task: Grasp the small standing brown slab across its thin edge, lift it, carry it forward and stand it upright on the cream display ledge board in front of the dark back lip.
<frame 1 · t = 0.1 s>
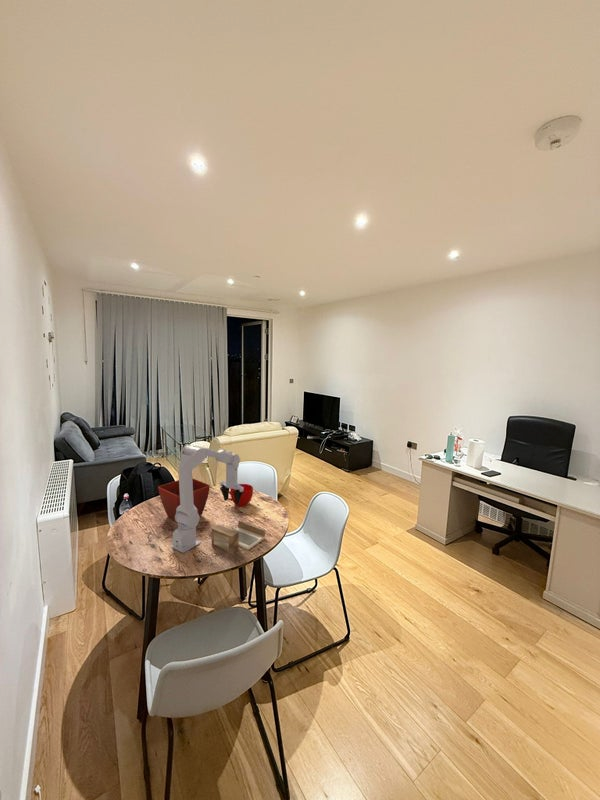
hand: (231, 501, 166), 10 cm above the table, fingers open, 7 cm apart
display ledge: (243, 538, 150), on the table
plant pot: (184, 516, 170), on the table
brown slab: (224, 547, 143), on the table
ceramic cup: (238, 505, 186), on the table
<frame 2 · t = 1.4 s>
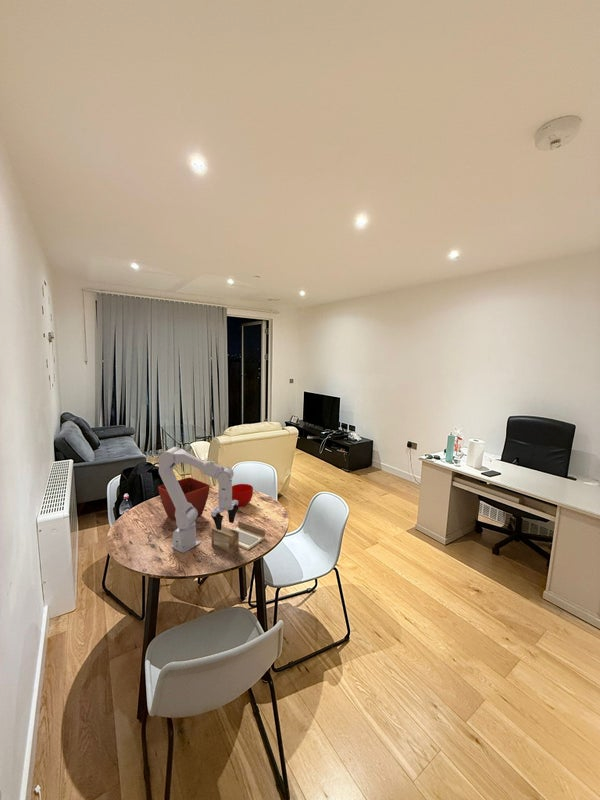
hand: (225, 525, 142), 10 cm above the table, fingers open, 7 cm apart
nothing on the table moved.
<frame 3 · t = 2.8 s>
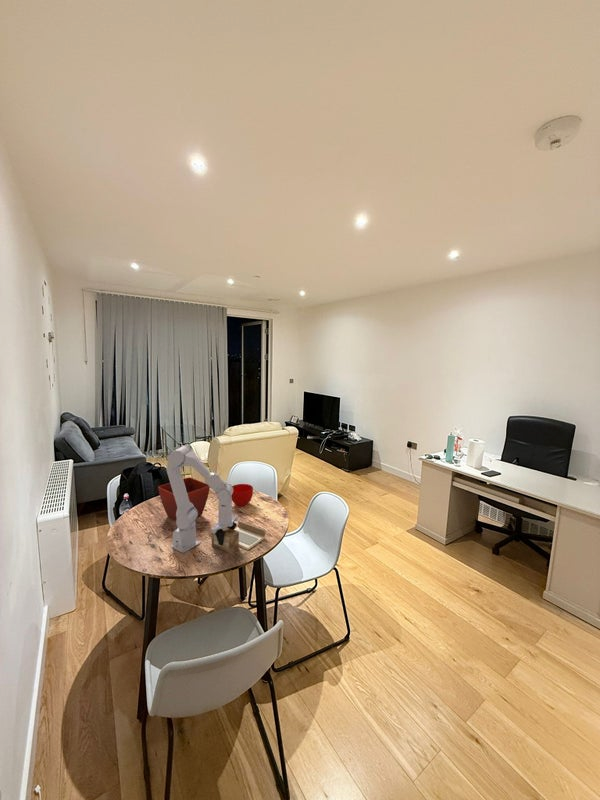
hand: (224, 541, 142), 2 cm above the table, fingers closed on brown slab, 5 cm apart
brown slab: (225, 547, 143), on the table, touching gripper
everything else where it was.
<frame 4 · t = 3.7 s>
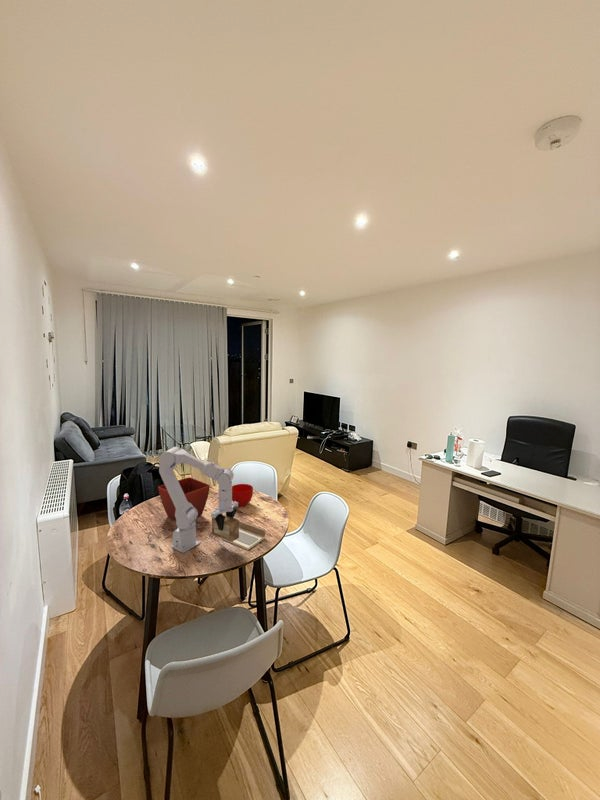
hand: (224, 527, 142), 9 cm above the table, fingers closed on brown slab, 5 cm apart
brown slab: (225, 535, 142), point 5 cm above the table, touching gripper
everything else where it was.
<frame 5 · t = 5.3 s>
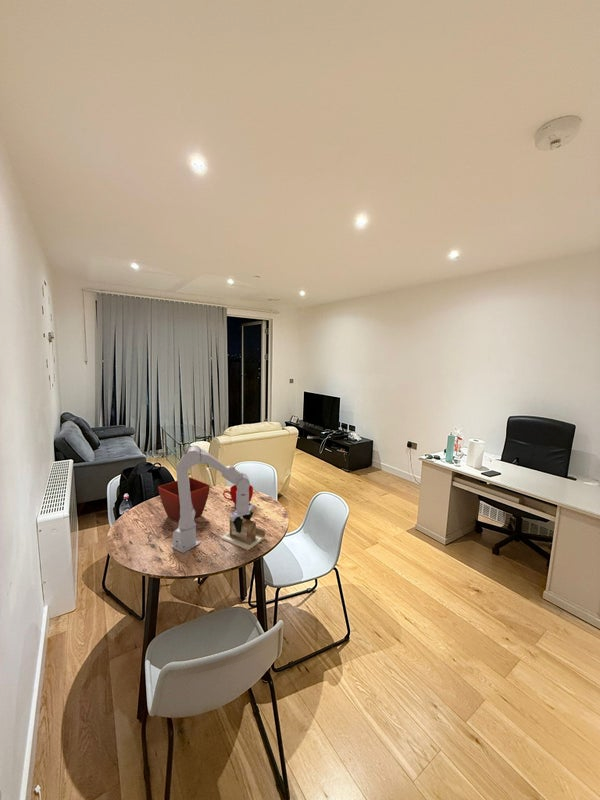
hand: (242, 529, 149), 5 cm above the table, fingers closed on brown slab, 5 cm apart
brown slab: (242, 537, 149), point 1 cm above the table, touching display ledge, gripper
everything else where it was.
when the fingers open (5 cm above the table, at t = 5.7 s): brown slab stays where it is, resting on display ledge.
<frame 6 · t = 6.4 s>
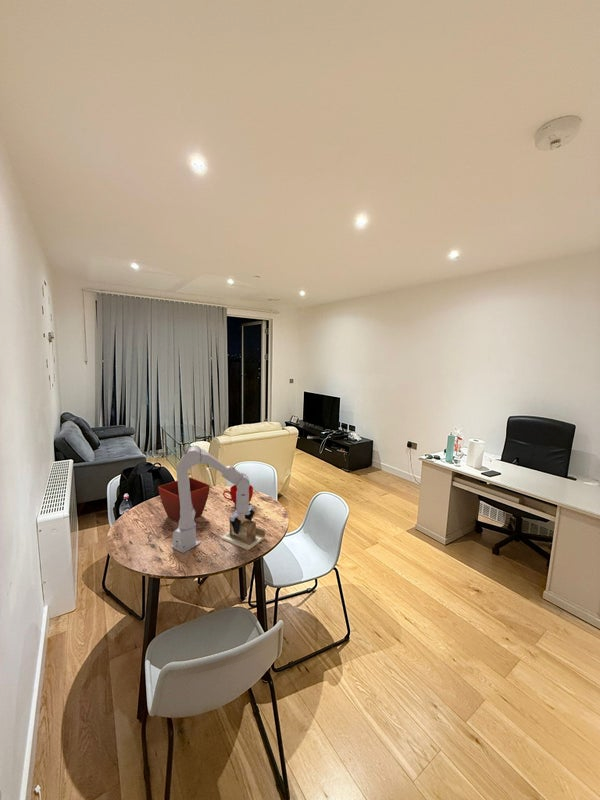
hand: (242, 529, 149), 5 cm above the table, fingers open, 7 cm apart
brown slab: (242, 537, 149), point 1 cm above the table, touching display ledge
everything else where it was.
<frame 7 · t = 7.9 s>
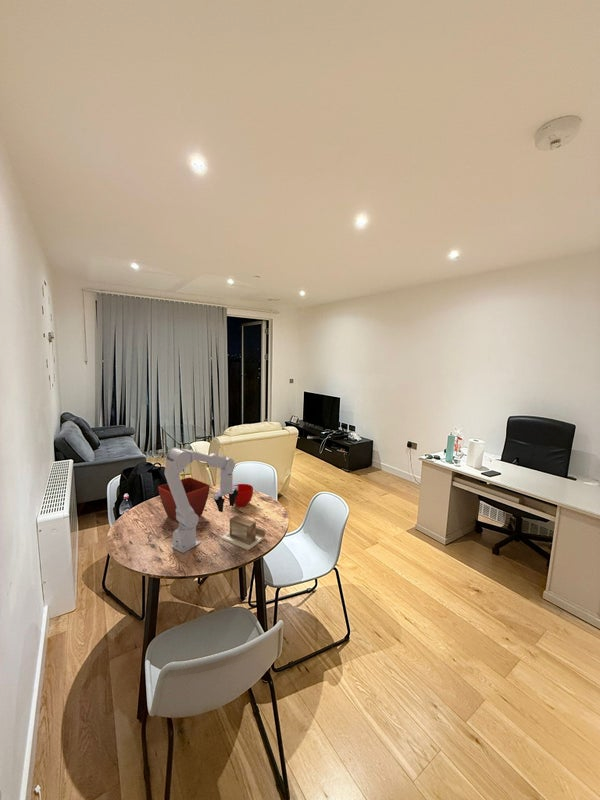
hand: (226, 508, 157), 10 cm above the table, fingers open, 7 cm apart
nothing on the table moved.
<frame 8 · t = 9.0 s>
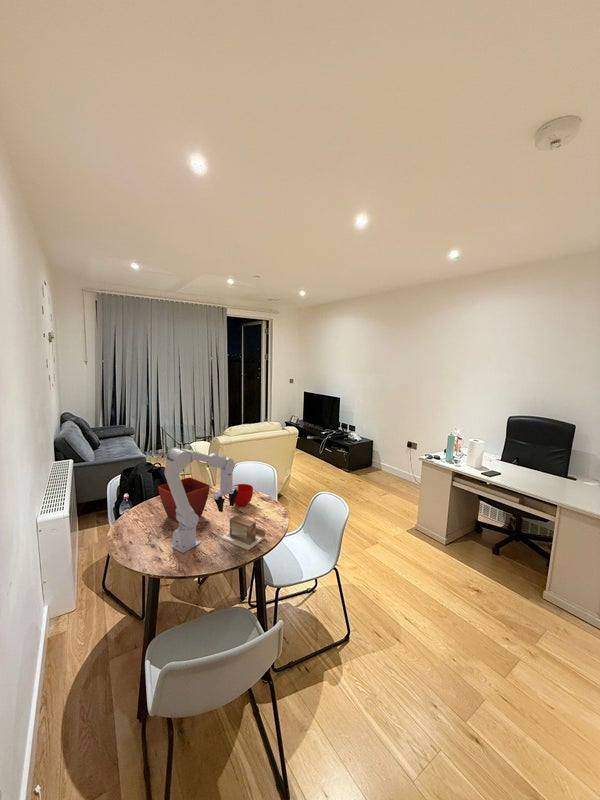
hand: (226, 508, 157), 10 cm above the table, fingers open, 7 cm apart
nothing on the table moved.
at the end: brown slab inside the target area on the display ledge (0.4 cm from its centre), point 1.2 cm above the display ledge's base; brown slab tilted 0°; the gripper is holding nothing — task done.
